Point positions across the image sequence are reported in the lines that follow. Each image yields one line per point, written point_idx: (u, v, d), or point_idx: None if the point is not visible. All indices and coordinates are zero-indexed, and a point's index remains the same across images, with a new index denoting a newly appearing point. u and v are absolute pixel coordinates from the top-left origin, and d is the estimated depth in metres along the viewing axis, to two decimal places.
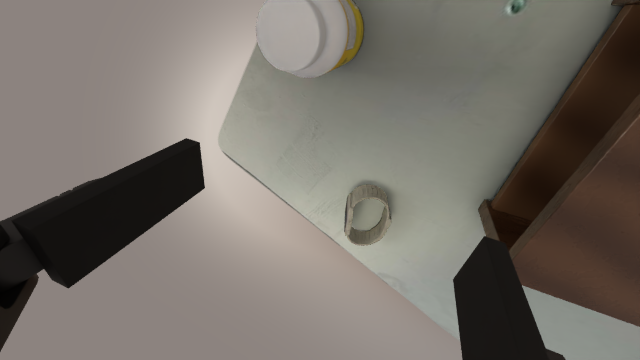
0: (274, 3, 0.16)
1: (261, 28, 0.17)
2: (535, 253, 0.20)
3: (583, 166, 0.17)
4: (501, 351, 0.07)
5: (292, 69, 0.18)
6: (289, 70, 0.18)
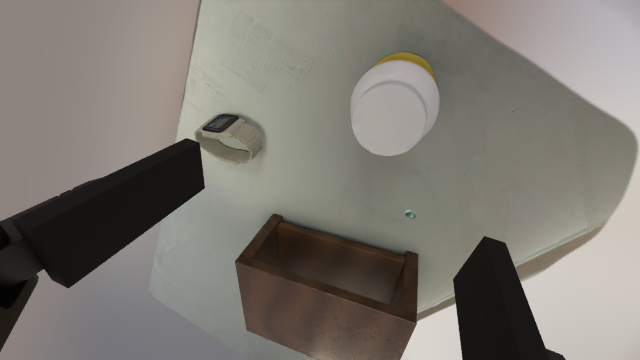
0: (416, 111, 0.15)
1: (394, 93, 0.15)
2: (260, 275, 0.32)
3: (318, 284, 0.30)
4: (501, 351, 0.07)
5: (354, 127, 0.17)
6: (353, 124, 0.17)
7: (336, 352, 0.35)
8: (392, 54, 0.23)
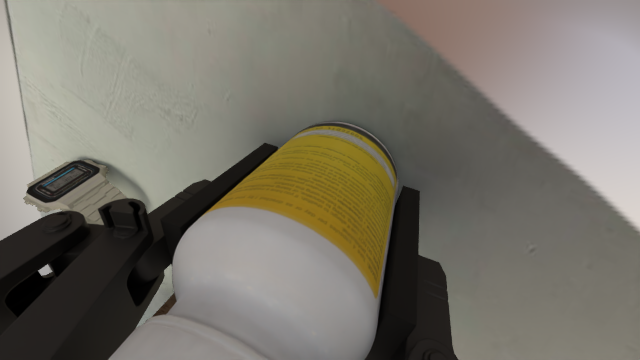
0: None
1: None
2: None
3: None
4: (390, 257, 0.09)
5: None
6: None
7: None
8: (316, 131, 0.11)
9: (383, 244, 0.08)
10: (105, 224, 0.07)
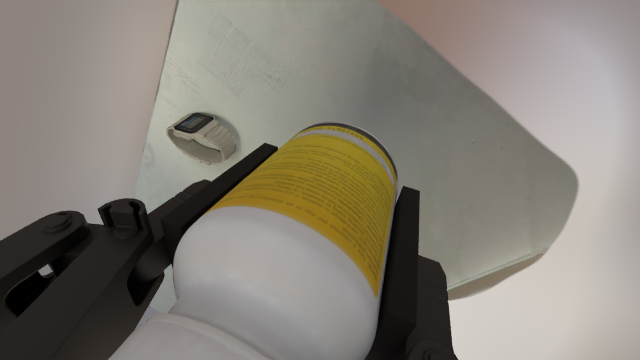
0: None
1: None
2: None
3: None
4: (390, 257, 0.09)
5: None
6: None
7: None
8: (316, 130, 0.11)
9: (383, 243, 0.08)
10: (105, 224, 0.07)
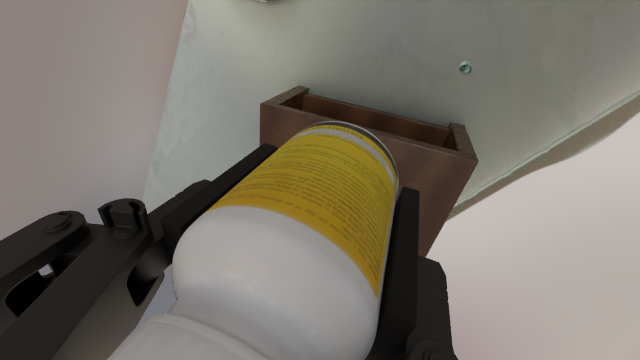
0: None
1: None
2: (289, 120, 0.27)
3: None
4: (390, 257, 0.09)
5: None
6: None
7: None
8: (316, 130, 0.11)
9: (383, 243, 0.08)
10: (105, 224, 0.07)
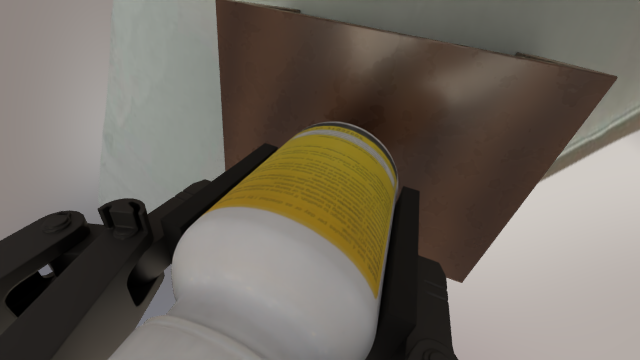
0: None
1: None
2: (264, 26, 0.16)
3: None
4: (390, 257, 0.09)
5: None
6: None
7: None
8: (315, 131, 0.11)
9: (383, 244, 0.08)
10: (105, 224, 0.07)
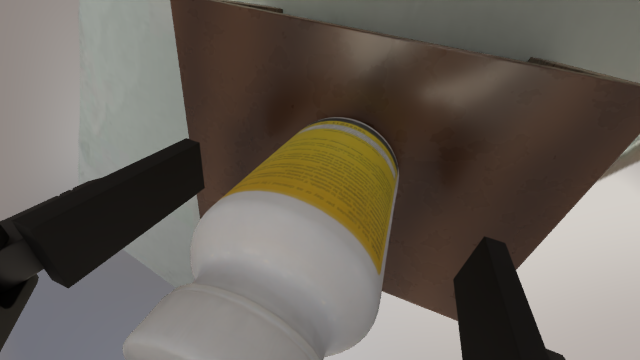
0: None
1: None
2: (228, 26, 0.13)
3: (375, 32, 0.12)
4: (501, 351, 0.07)
5: None
6: None
7: None
8: (321, 125, 0.12)
9: (385, 228, 0.09)
10: None
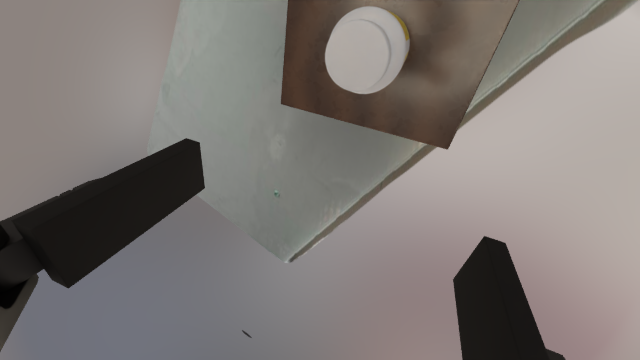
0: (381, 47, 0.17)
1: (362, 28, 0.17)
2: None
3: None
4: (501, 351, 0.07)
5: (327, 61, 0.19)
6: (326, 58, 0.19)
7: (395, 100, 0.30)
8: None
9: (406, 36, 0.21)
10: None
